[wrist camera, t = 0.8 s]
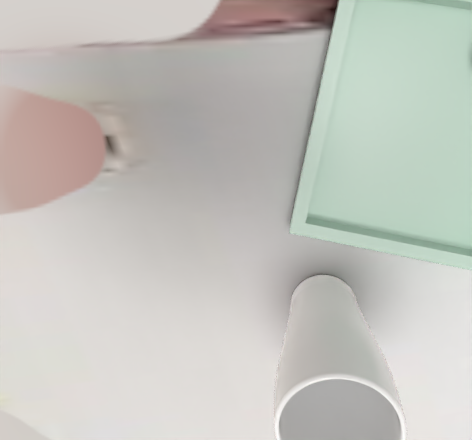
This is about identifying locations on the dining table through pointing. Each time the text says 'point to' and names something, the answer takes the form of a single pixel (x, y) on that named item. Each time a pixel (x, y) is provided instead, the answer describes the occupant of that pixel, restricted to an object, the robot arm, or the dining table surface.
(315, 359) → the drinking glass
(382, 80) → the tray
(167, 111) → the dining table surface
